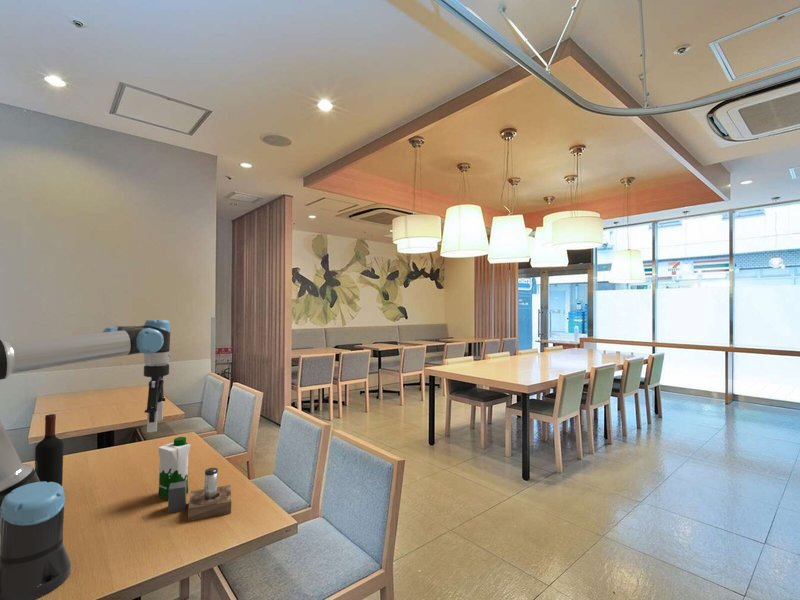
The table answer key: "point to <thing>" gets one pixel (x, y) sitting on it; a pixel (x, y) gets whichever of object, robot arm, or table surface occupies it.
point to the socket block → (209, 503)
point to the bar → (177, 497)
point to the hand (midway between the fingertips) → (155, 425)
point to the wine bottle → (49, 454)
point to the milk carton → (173, 465)
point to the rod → (210, 483)
